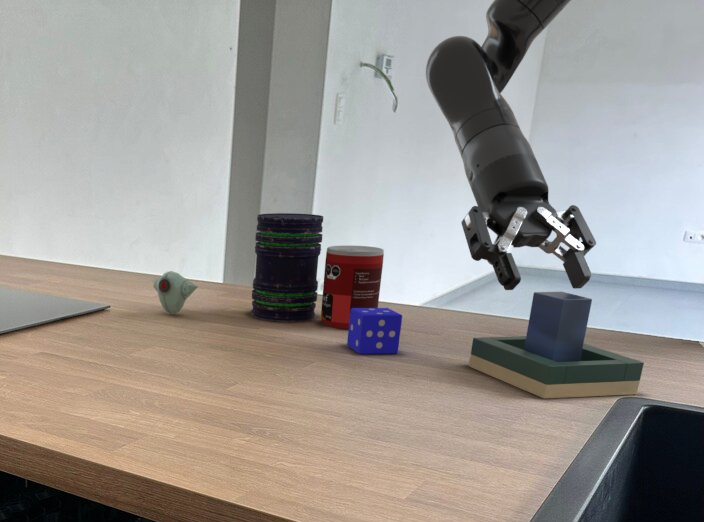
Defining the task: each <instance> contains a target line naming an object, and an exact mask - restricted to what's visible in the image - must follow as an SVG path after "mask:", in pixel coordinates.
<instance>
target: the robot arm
mask: <svg viewBox="0 0 704 522" xmlns="http://www.w3.org/2000/svg"><path fill="white" fill-rule="evenodd" d="M571 1H572V0H493V1H492V3H491V4H490V5H489V7H488V8H487V11H486V14H485V21H486V25H487V36H486V38H485V39H484V41H483V43H482V44H481V45H480V44H479V42H477V41H476V40H475V39H474V38H471V37H469V36H465V35H454V36H449V37H448V38H446V39H444V40H442V41H440V42H439V43H438V44H437V45H436V46H435V47H434V48H433V50H432V51H431V53H430V54H429V56H428V58H427V62H426V66H425V80H426V83H427V86H428V88H429V91H430V93H431V95H432V97H433V99H434V101H435V102H436V104H437V106H438V107H439V109H440V111H441V113H442V114H443V116H444V118H445V120H446V121H447V123H448V125H449V128H450V129H451V131H452V135H453V138H454V141H455V144H456V147H457V150H458V152H459V155H460V157H461V160H462V163H463V168H464V173H465V176H466V179H467V182H468V184H469V187H470V189H471V192H472V194H473V198H474V200H475V203H476V205H473V206H471V208H470V209H469V211H468V212H467V214H466V215H465V216H464V218H463V219H462V221H461V222H460V223H461V226H462V230H463V234H464V237H465V240H466V243H467V246H468V250H469V253H470V256H471V259H473V261H476V262H479V261H481V260H484V261H486V262H487V263H488V264H489V265H491V266H492V268H493V271H494V272H495V276H496V278H497V281H498V283H499V285H500V286H502V287H503V289H504V290H505V291H513V290H514V289H515V288H516V287H517V286H518V285H519V284H520V283H521V280H522V277H521V273H520V271H519V269H518V267H517V264H516V261H515V258H514V255H513V254H512V252H508V251H509V250H510V247H511V246H512V247H513V248H515V249H517V248H522V247H528V248H539V249H540V250H542V251H543V252H544V253H545V254H547V255H548V254H553V256H555V257H556V258H558V259H559V260H560V261H562V262H563V263H562V266H563V269H564V270H565V273H566V275H567V278H568V280H569V282H570V285H571V288H573V289H577V290H578V289H582V288H583V287H584V286H585V285H586V284H587V283H588V282H589V281H590V279H591V277H592V271H591V269H590V266H589V265H588V262H587V260H586V258H585V256H586V255H587V254H588V253H589V252H590V251H591V250H592V249H593V248H594V247H595V246H597V241H596V238H595V236H594V235H593V233H592V231H591V229H590V227H589V225H588V223H587V221H586V219H585V217H584V216H583V214H582V212H581V209H580V208H579V207H578V206H576V205H575V204H571V205H570V206H569V207H568V208H567V209H566V210H556V209H555V208H554V207H553V206H552V205H551V203H550V202H549V186H548V183H547V181H546V178H545V177H544V174H543V172H542V169H541V167H540V164H539V163H538V160H537V158H536V156H535V153H534V151H533V149H532V147H531V144H530V142H529V141H528V139H527V138H526V137H525V135H524V133H523V132H522V129H521V127H520V125H519V123H518V120H517V118H516V115H515V113H514V111H513V109H512V107H511V105H510V104H509V103H508V101H507V100H506V99H505V97H504V96H503V95H502V92H504V89H505V88H506V87H507V85H508V84H509V82H510V81H511V79H512V77H513V76H514V74H515V73H516V71H517V69H518V68H519V66H520V65H521V63H522V62H523V60H524V58H525V57H526V54H527V53H528V51H529V49H530V48H531V46H532V44H533V43H534V41H535V40H536V38H538V36H540V35H541V34H542V33H543V31H544V30H545V29H546V28H547V27H548V26H549V25H550V24H551V23H552V22H553V21H554V20H555V19H556V17H558V15H560V13H561V12H562V11H563V10H564V9H565V8H566V7H567V6H568V5H569V4H570V3H571ZM489 230H491V231H492V232H493V233H494V234H495V235H496V237H495V240H494V242H492V238H491V235H490V232H489ZM552 232H554V233H555V234H556V237H555V238H554V239H553V240H552V241H550V240H548V239H549V237H550V236H551V234H552ZM580 240H581V241H580ZM561 243H563V244H564V245H565V246H567V247H568V249H567V250H566V248H564V247H563V246H561Z"/></svg>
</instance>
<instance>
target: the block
mask: <svg viewBox="0 0 704 522" xmlns="http://www.w3.org/2000/svg"><path fill="white" fill-rule="evenodd" d="M592 302H593V299H592V298H590V297H586V296H582V295H578V294H573V293H569V292H564V291H534V292H533V295H532V300H531V307H530V312H529V318H528V324H527V330H526V335H525V336H526V341H525V347H524V350H525V351H528V352H530V353H533V354H536V355H539V356H541V357H544V358H547V359H550V360H553V361H555V362H576V361H580V359H581V354H582V349H583V344H585V338H586V333H587V328H588V324H589V323H588V322H589V317H590V312H591V307H592Z"/></svg>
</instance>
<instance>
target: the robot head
mask: <svg viewBox="0 0 704 522" xmlns="http://www.w3.org/2000/svg"><path fill="white" fill-rule="evenodd" d="M152 286H153V288H154V290H155V291H156V292H157V296H158V300H159V302H160V304H161V306H162V308H163V310H164V311H165V312H166V313H167V314H170V315H172V316H173V315H176V314H178V313H180V312H181V310H182V309H183V307H184V306H185V302H186V300H187V299H188V298H189V297H190V296H191V295H192V294H193V293H194V292H195V291H196V290H197V289H198V287H199V286H198V285H196V284H195V283H193V282H192V281H189V279H188V278H186V277H184V276H183V275H181V274H180V273H179V272H175V271H173V270H169V271H166V272H164V273H163V274H162V275H161V276H160V277H159V278H156V279H153V285H152Z"/></svg>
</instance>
